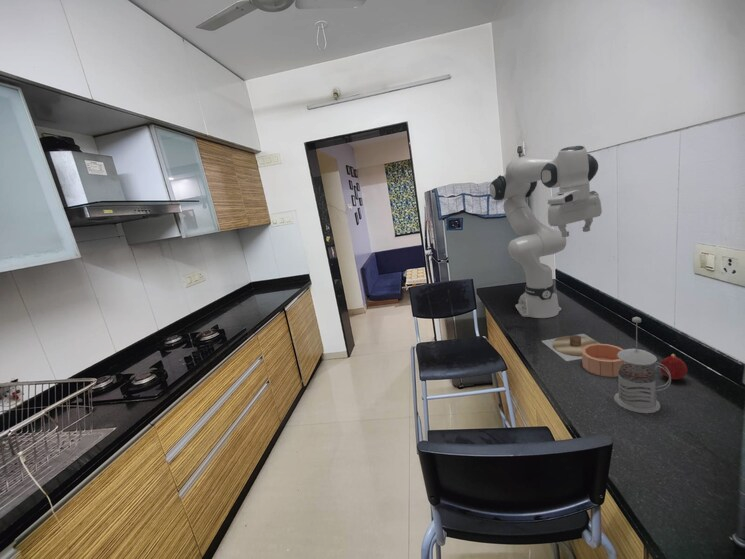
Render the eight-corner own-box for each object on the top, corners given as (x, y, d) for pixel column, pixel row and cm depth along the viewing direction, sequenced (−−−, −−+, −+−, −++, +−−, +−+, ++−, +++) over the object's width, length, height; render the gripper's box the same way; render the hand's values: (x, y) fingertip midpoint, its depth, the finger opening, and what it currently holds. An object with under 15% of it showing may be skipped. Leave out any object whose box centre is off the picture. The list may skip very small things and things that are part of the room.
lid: (544, 341, 125) (544, 332, 124) (582, 335, 125) (582, 326, 124) (567, 359, 111) (567, 349, 110) (610, 352, 110) (610, 342, 109)
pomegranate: (692, 384, 88) (693, 358, 87) (668, 385, 90) (668, 360, 88) (677, 373, 94) (678, 349, 92) (654, 374, 95) (655, 350, 94)
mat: (541, 341, 126) (541, 340, 126) (583, 334, 126) (583, 333, 126) (566, 362, 110) (566, 361, 110) (615, 353, 109) (615, 352, 109)
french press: (614, 387, 93) (613, 309, 87) (668, 397, 86) (671, 311, 80) (612, 407, 86) (611, 322, 80) (671, 419, 78) (674, 327, 73)
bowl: (574, 361, 109) (573, 347, 108) (609, 355, 109) (609, 341, 107) (598, 380, 98) (598, 364, 96) (638, 373, 97) (638, 357, 96)
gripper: (589, 190, 115) (590, 228, 118) (543, 200, 110) (546, 239, 113) (606, 188, 109) (607, 228, 112) (558, 199, 104) (560, 240, 107)
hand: (576, 234), depth 112 cm, fingers open, 8 cm apart
